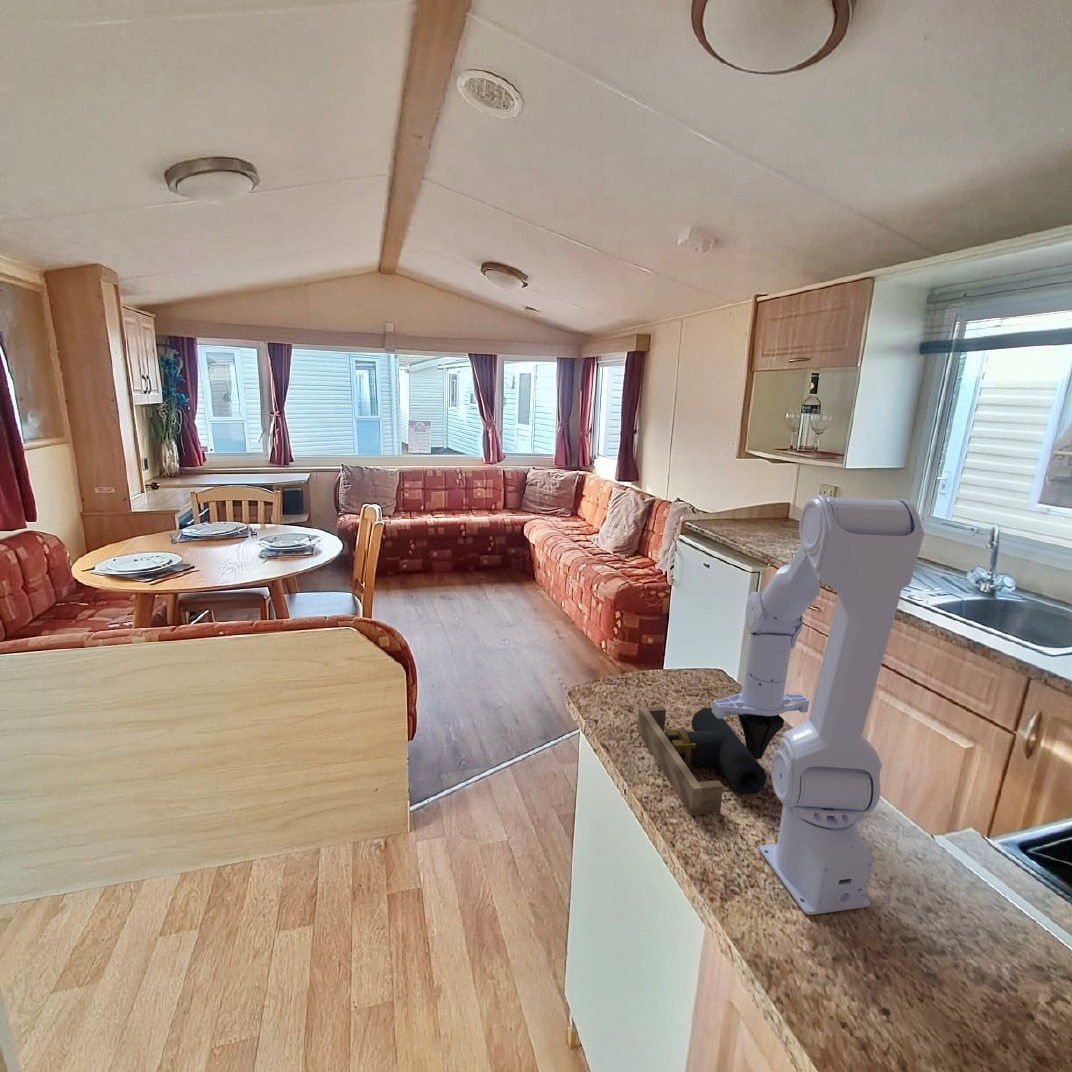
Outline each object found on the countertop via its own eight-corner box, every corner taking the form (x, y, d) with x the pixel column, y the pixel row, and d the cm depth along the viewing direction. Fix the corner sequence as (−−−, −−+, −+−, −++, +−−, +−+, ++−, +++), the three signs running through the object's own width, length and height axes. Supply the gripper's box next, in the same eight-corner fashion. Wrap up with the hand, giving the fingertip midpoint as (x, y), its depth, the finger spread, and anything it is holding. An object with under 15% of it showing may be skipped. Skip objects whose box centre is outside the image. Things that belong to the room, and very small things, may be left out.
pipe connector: (689, 764, 78) (655, 707, 92) (685, 798, 79) (651, 736, 94) (769, 763, 79) (722, 706, 94) (763, 796, 81) (718, 735, 95)
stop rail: (720, 812, 76) (723, 786, 75) (690, 815, 76) (693, 788, 75) (661, 727, 96) (663, 706, 95) (637, 729, 95) (639, 707, 94)
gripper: (793, 658, 89) (781, 736, 92) (706, 663, 86) (697, 743, 89) (823, 680, 82) (809, 763, 85) (730, 686, 79) (719, 772, 82)
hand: (753, 755), depth 87 cm, fingers closed
